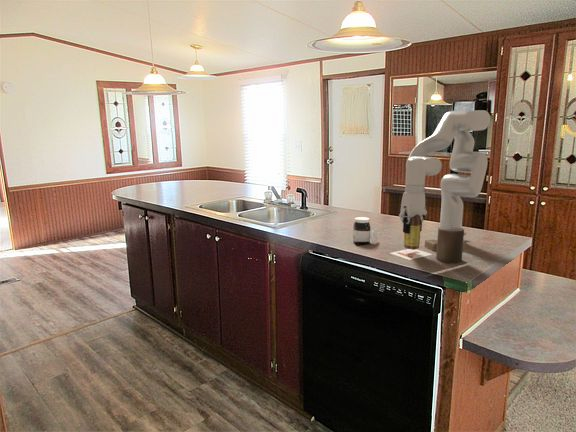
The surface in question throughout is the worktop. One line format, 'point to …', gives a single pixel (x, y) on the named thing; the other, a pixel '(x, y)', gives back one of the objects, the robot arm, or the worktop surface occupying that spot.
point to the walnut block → (431, 244)
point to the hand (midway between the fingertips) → (412, 231)
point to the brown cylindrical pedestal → (450, 244)
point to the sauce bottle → (413, 234)
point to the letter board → (410, 254)
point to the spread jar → (363, 232)
